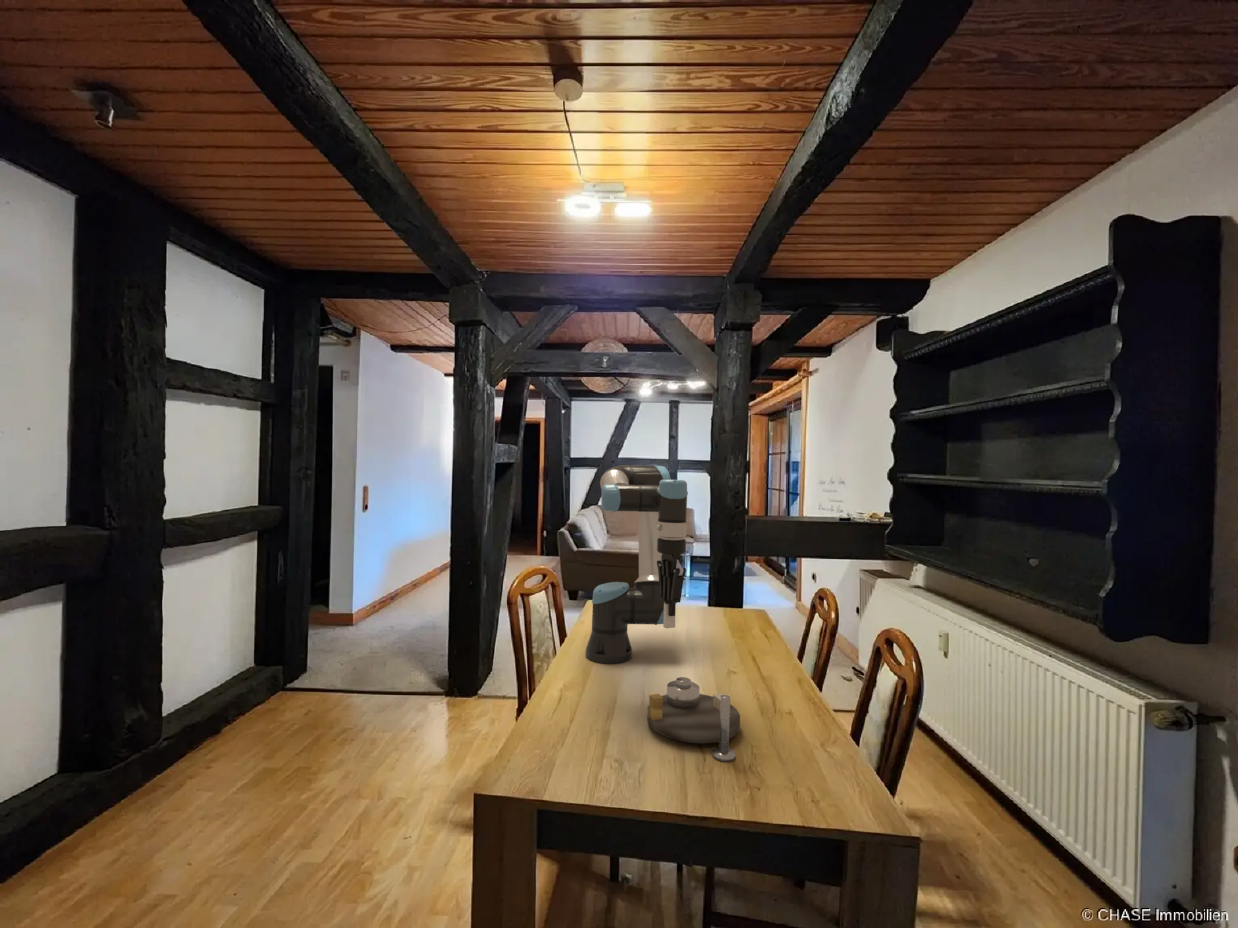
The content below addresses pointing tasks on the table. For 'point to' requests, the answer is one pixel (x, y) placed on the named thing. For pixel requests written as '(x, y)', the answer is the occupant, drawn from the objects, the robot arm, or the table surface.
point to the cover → (683, 694)
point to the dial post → (723, 729)
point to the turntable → (690, 720)
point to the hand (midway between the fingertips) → (669, 626)
